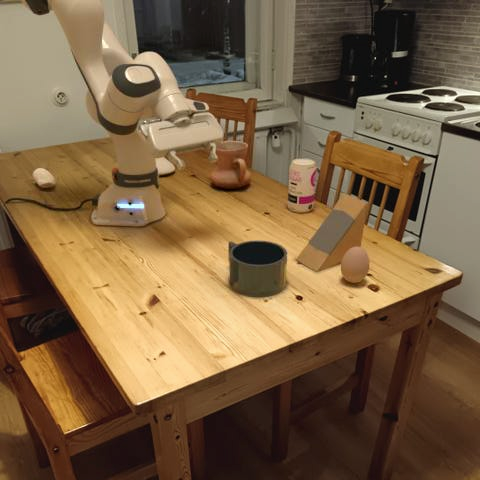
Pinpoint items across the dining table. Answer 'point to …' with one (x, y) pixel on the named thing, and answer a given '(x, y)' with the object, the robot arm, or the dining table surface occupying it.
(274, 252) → the coffee mug
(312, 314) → the dining table surface
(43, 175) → the roll
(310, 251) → the sandwich container
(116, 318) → the dining table surface
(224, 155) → the ceramic jug
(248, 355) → the dining table surface
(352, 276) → the egg
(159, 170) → the flower in vase
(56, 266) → the dining table surface
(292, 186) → the supplement can
